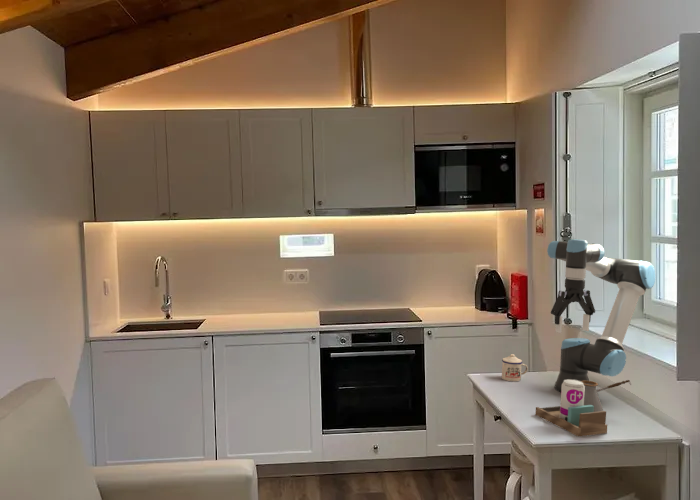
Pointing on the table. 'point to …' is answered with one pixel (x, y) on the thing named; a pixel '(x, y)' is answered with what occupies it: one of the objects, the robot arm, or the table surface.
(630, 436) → the table surface
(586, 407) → the plate
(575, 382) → the supplement can
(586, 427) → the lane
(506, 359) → the teacup with lid
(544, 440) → the table surface
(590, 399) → the coffee pot
